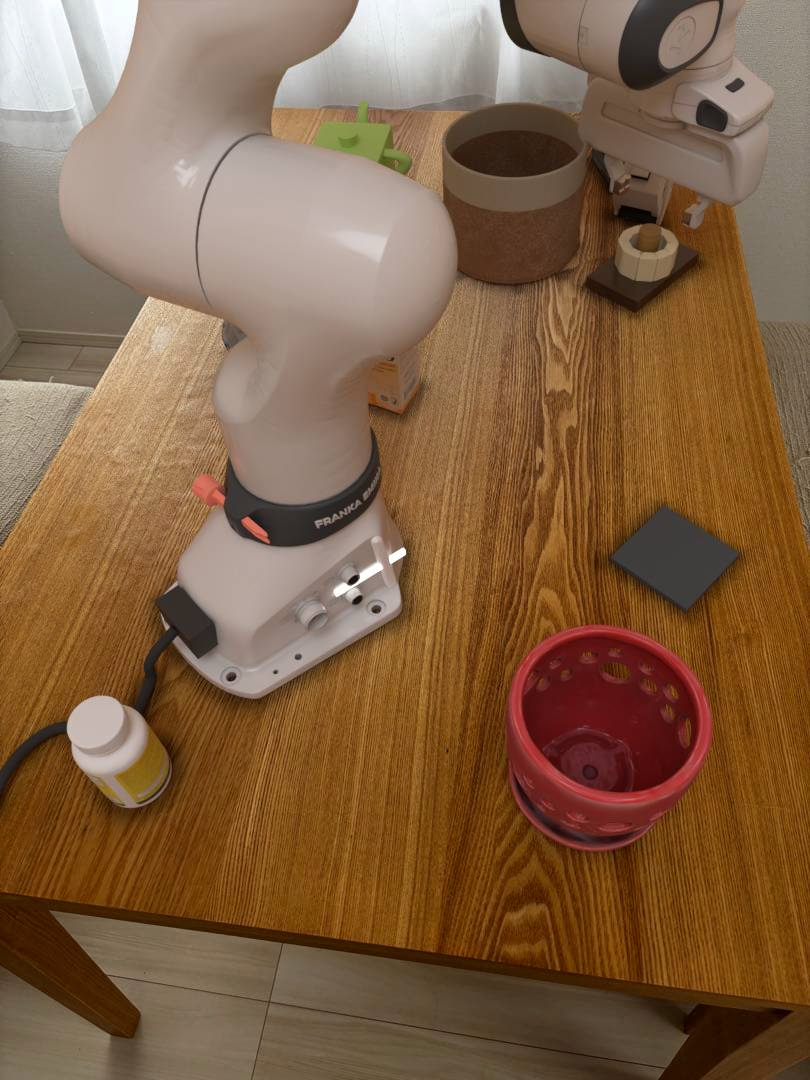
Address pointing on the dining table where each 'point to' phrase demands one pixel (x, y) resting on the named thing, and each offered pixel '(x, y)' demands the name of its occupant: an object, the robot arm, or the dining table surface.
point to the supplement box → (394, 381)
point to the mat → (674, 558)
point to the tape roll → (645, 256)
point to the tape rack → (639, 292)
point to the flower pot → (602, 736)
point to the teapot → (364, 140)
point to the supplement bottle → (118, 751)
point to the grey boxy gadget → (643, 197)
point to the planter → (514, 190)
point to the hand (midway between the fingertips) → (654, 208)
